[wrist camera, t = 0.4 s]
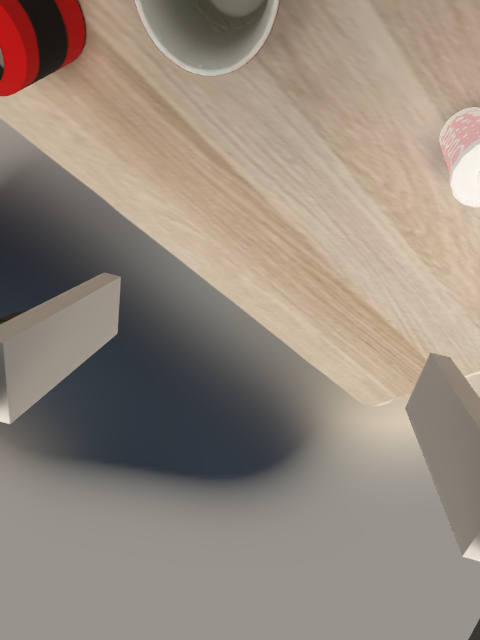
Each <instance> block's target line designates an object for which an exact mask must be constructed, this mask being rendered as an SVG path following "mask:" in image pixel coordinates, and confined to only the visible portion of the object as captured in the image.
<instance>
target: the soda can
mask: <svg viewBox="0 0 480 640" xmlns="http://www.w3.org/2000/svg"><path fill="white" fill-rule="evenodd" d="M84 41H85V26H84V20H83V16H82V13H81V10H80V7H79V5H78V3H77V0H0V96H9V95H12V94H14V93H16V92H18V91H20V90H22V89H24V88H25V87H27V86H29V85H31V84H33V83H35V82H36V81H38V80H40V79H42V78H44V77H46V76H47V75H49V74H51V73H53V72H55V71H56V70H58V69H60V68H62V67H64V66H66V65H67V64H69V63H71V62H73V61H74V60H75V59H77V57H78V56H79V55H80V53H81V51H82V49H83V46H84Z"/></svg>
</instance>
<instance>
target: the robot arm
mask: <svg viewBox="0 0 480 640" xmlns="http://www.w3.org/2000/svg"><path fill="white" fill-rule="evenodd" d="M120 279H121V277H119V276H115V275H111V274H107V273H103V274H101V275H99V276H96V277H95V278H93V279H91V280H89V281H87V282H85V283H82V284H80V285H79V286H77V287H74V288H72V289H71V290H69V291H67V292H64V293H62V294H60V295H59V296H56V297H54V298H52V299H50V300H48V301H46V302H44V303H43V304H41V305H39V306H36V307H34V308H33V309H30V310H29V309H28V310H24V311H19V312H15V313H12V314H10V315H7V316H5V317H3V318H1V319H0V421H1V422H4V423H7V424H11V423H12V422H13V421H14V420H15V419H17V418H18V417H19V416H20V415H21V414H22V413H24V412H25V411H26V410H27V409H28V408H30V407H31V406H32V405H33V404H34V403H36V402H37V401H38V400H39V399H40V398H42V396H44V395H45V394H46V393H47V392H49V391H50V390H51V389H52V388H53V387H55V386H56V385H57V384H58V383H59V382H60V381H62V380H63V379H64V378H65V377H66V376H68V375H69V374H70V373H71V372H72V371H73V370H75V369H76V368H77V367H78V366H79V365H80V364H82V363H83V362H84V361H85V360H86V359H88V358H89V357H90V356H91V355H92V354H94V353H95V352H96V351H97V350H98V349H100V348H101V347H102V346H103V345H104V344H105V343H107V342H108V341H109V340H110V339H111V338H113V337H114V336H115V335H116V334H117V332H118V313H119V298H120ZM405 409H406V412H407V413H408V416H409V419H410V422H411V425H412V427H413V430H414V432H415V435H416V437H417V440H418V443H419V445H420V448H421V450H422V453H423V456H424V458H425V461H426V463H427V466H428V469H429V471H430V474H431V476H432V479H433V481H434V484H435V486H436V489H437V492H438V494H439V497H440V500H441V502H442V505H443V507H444V510H445V513H446V515H447V518H448V520H449V523H450V525H451V528H452V531H453V533H454V536H455V538H456V541H457V544H458V546H459V549H460V551H461V554H462V556H463V557H466V558H470V559H473V560H476V561H480V398H479V397H478V395H477V394H476V392H475V391H474V390H473V388H472V387H471V385H470V384H469V383H468V381H467V380H466V379H465V377H464V376H463V374H462V373H461V372H460V370H459V369H458V368H457V366H456V365H455V363H454V362H453V361H452V359H451V358H450V357H446V356H442V355H438V354H434V353H430V355H429V357H428V359H427V361H426V364H425V366H424V368H423V370H422V372H421V375H420V377H419V379H418V381H417V383H416V386H415V388H414V390H413V392H412V394H411V397H410V399H409V401H408V403H407V405H406V408H405ZM469 640H480V619H479V621H478V623H477V625H476V627H475V628H474V630H473V632H472V634H471V636H470V638H469Z"/></svg>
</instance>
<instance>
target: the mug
mask: <svg viewBox="0 0 480 640" xmlns="http://www.w3.org/2000/svg"><path fill="white" fill-rule="evenodd" d="M134 1H135V4H136V8H137V11H138V13H139V16H140V18H141V21H142V23H143V25H144V27H145V29H146V31H147V33H148V35H149V36H150V38H151V40H152V41H153V42H154V44H155V45H156V46H157V47H158V49H159V50H160V51H161V52H162V53H163V54H164V55H165V56H166V57H167V58H168V59H169V60H170V61H172V62H173V63H174V64H176V65H177V66H179V67H180V68H182V69H184V70H186V71H188V72H190V73H194V74H196V75H200V76H220V75H225V74H228V73H231V72H233V71H235V70H237V69H239V68H241V67H242V66H244V65H245V64H247V63H248V62H249V61H250V60H251V59H252V58H253V57H254V56H255V55H256V54H257V53H258V52H259V50H260V49H261V48H262V46H263V45H264V43H265V42H266V40H267V38H268V36H269V34H270V32H271V30H272V28H273V25H274V22H275V19H276V16H277V13H278V8H279V4H280V0H134Z"/></svg>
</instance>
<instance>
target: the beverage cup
mask: <svg viewBox="0 0 480 640" xmlns="http://www.w3.org/2000/svg"><path fill="white" fill-rule="evenodd" d="M439 141H440V145H441V148H442V152H443V155H444V158H445V161H446V164H447V167H448V170H449V173H450V177H449V183H450V186H451V190H452V193H453V196H454V197H455V198H456V199H457V200H459V201H460V202H461V203H462V204H464V205H468V206H472V207H480V108H478V107H472V108H465V109H463V110H461V111H459V112H457V113H455V114H454V115H453V116H452V117H451V118H450V119H449V120H448V121H447V122H446V123H445V125H444V126H443V128H442V130H441V133H440V139H439Z"/></svg>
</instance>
